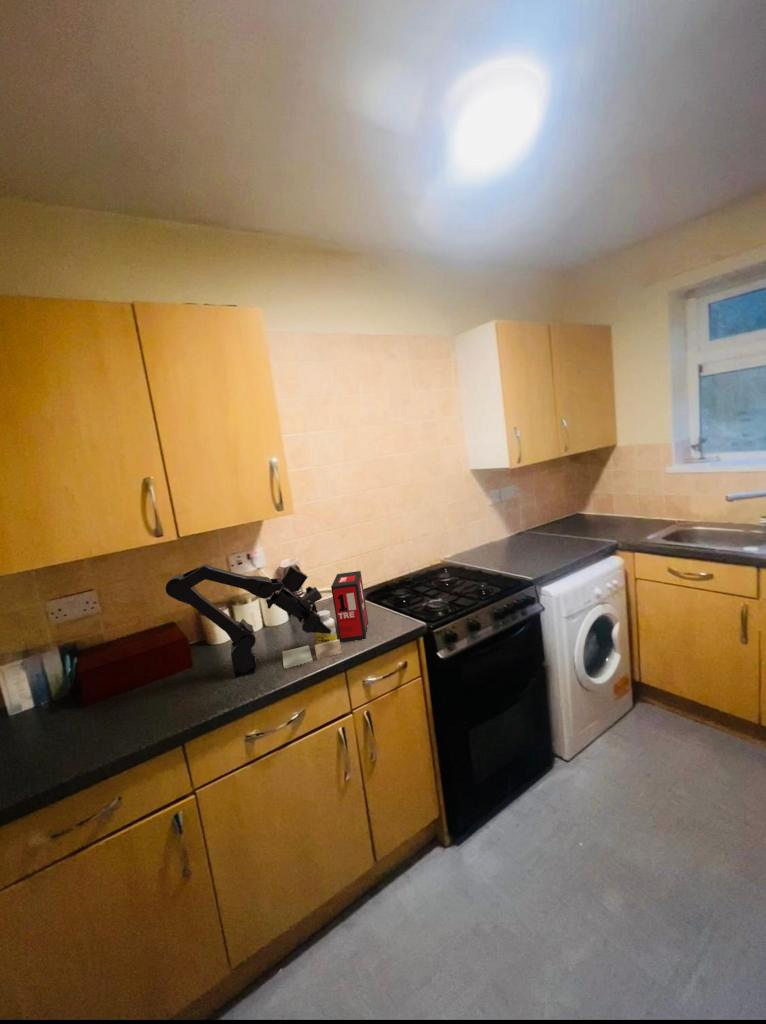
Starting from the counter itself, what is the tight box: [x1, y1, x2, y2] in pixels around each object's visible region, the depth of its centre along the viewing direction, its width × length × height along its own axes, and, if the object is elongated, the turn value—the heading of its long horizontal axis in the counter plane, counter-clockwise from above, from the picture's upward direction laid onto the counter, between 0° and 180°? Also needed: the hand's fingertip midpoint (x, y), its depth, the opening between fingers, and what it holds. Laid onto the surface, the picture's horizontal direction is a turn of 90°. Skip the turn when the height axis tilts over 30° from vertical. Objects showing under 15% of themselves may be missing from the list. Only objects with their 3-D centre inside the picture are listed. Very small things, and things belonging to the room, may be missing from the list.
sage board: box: [281, 645, 314, 670], centre depth 144 cm, size 9×12×1 cm
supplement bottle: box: [315, 609, 338, 645], centre depth 146 cm, size 7×7×13 cm
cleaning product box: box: [330, 570, 369, 643], centre depth 158 cm, size 16×9×20 cm, turn 179°
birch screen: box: [314, 638, 342, 660], centre depth 142 cm, size 8×1×4 cm, turn 105°
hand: (328, 627), depth 147 cm, fingers open, 9 cm apart
